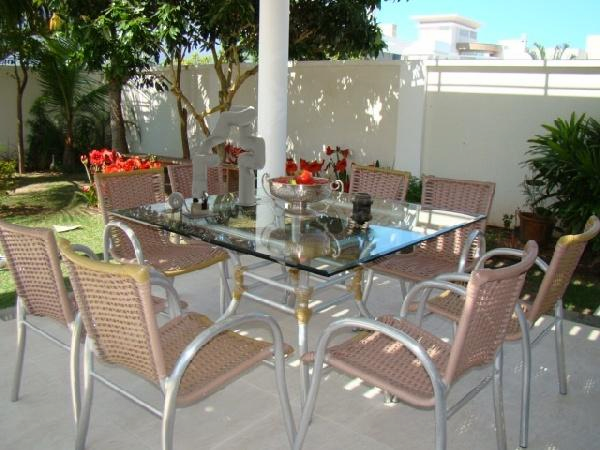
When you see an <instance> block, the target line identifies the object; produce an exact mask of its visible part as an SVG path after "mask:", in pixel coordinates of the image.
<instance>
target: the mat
mask: <svg viewBox="0 0 600 450" xmlns="http://www.w3.org/2000/svg"><path fill="white" fill-rule="evenodd" d="M180 215H182V216H184V217H187V218H189V219H192V220H196V219H203V218H212V217H219V216H220V214H218V213H216V212H213V211H210V210H209V214H203V215H192V214H191V211H185V212H180Z"/></svg>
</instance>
